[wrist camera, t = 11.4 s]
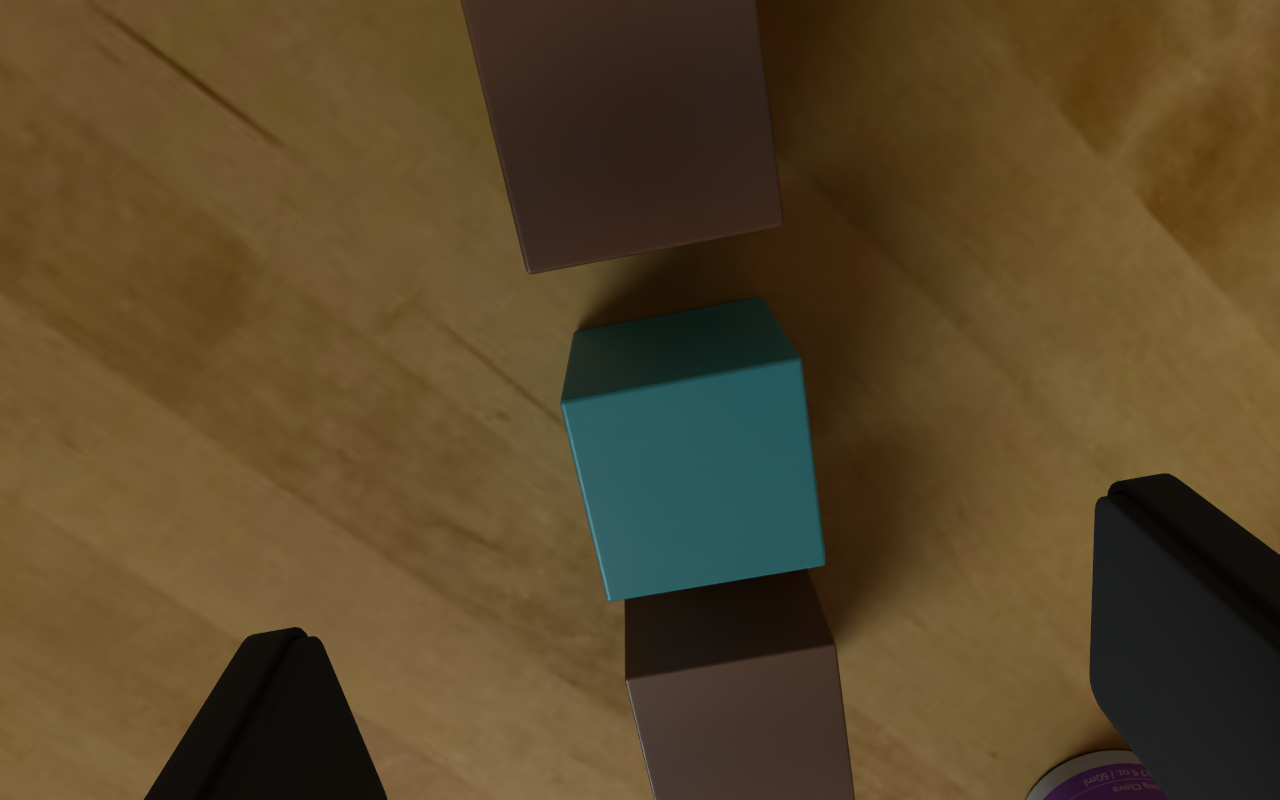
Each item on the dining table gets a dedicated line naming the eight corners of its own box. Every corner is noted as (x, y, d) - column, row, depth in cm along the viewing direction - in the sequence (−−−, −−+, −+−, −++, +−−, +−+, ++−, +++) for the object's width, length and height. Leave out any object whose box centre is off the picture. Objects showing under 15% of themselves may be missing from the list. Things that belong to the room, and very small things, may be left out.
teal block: (572, 330, 19) (558, 401, 15) (763, 295, 19) (802, 357, 15) (610, 498, 20) (607, 604, 16) (786, 467, 20) (827, 567, 16)
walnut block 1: (498, 12, 16) (457, -8, 12) (716, -34, 16) (748, -70, 12) (548, 231, 18) (526, 276, 14) (747, 192, 18) (785, 227, 14)
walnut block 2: (623, 562, 21) (624, 679, 17) (794, 532, 21) (836, 644, 17) (654, 696, 23) (662, 833, 19) (813, 670, 23) (855, 803, 18)
